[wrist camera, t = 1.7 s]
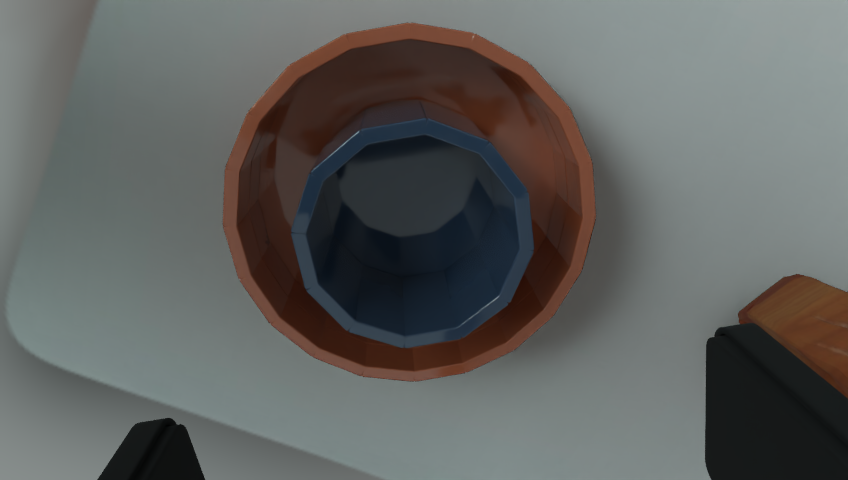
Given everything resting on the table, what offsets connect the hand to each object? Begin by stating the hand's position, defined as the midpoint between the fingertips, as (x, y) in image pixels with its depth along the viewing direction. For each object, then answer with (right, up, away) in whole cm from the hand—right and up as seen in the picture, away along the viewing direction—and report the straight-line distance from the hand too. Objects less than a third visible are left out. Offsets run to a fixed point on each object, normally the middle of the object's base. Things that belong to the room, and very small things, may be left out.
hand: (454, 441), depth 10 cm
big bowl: (-1, +6, +14) cm, 15 cm away
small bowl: (-1, +5, +13) cm, 14 cm away
